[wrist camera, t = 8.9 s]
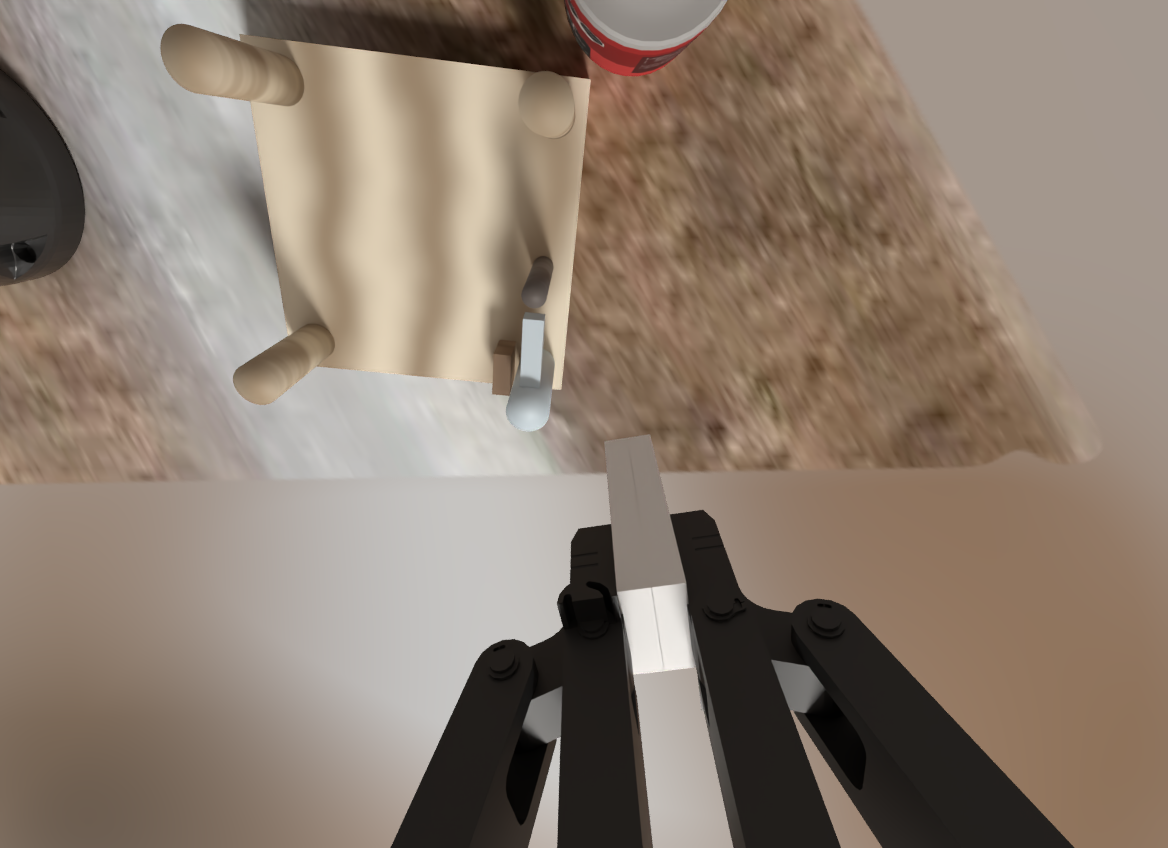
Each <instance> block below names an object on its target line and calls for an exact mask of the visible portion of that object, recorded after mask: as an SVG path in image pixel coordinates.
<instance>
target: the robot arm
mask: <svg viewBox="0 0 1168 848" xmlns="http://www.w3.org/2000/svg"><path fill="white" fill-rule="evenodd" d="M84 219H85V210H84V199H83V193H82V189H81V185H80V181H79V178H78V175H77V172H76V169H75V167H74V164H73V162H72V159H71V157H70V155H69V153H68V151H67V149H66V147H65V145H64V143H63V142H62V140H61V138H60V137H59V135H58V133H57V132H56V130H55V129H54V127H53V126H52V124H51V123H50V121H49V120H48V119H47V117H46V116H45V115H44V113H43V112H42V111H41V110H40V109H39V107H38V106H37V105H36V104H35V103H34V101H33V100H32V99H31V98H30V97H29V96H28V95H27V94H26V93H25V92H24V91H23V90H22V89H21V88H20V87H19V86H18V85H17V84H16V83H15V82H14V81H13V80H12V79H11V78H9V77H8V76H7V75H6V74H5V73H4V72H2V71H1V70H0V286H5V285H11V284H16V283H20V282H24V281H28V280H33V279H37V278H40V277H44V276H46V275H49V274H51V273H53V272H55V271H57V270H58V269H60V268H61V267H62V266H63V265H65V264H66V263H67V262H68V261H69V260H70V258H71V257H72V256H73V254H74V253H75V251H76V249H77V248H78V245H79V243H80V240H81V237H82V233H83V229H84ZM604 442H605V455H606V467H607V479H608V491H609V503H610V514H611V524H608V525H602V526H595V527H587V528H580V529H578V531H577V532H576V534H575V536H574V538H573V540H572V541H571V570H570V584H569V585H568V586H566V587H565V588H564V590H563V591H562V592H561V593H560V595H559V598H558V601H557V606H558V610H559V613H560V617H561V621H562V624H563V627H562V628H561V630H560V631H559V632H557V633H556V634H555V635H554V636H552V637H551V638H549V639H547V640H545V641H543V642H540V643H538V644H536V645H534V646H531V647H529V646H527V645H526V644H525V643H524V642H522V641H518V640H515V639H512V640H502V641H500V642H498V643H495V644H493V645H491V646H490V647H489V648H487V649H486V650H485V651H484V652H483V653H482V654H481V655H480V657H479V658H478V660H477V661H476V663H475V665H474V667H473V669H472V672H471V674H470V676H469V678H468V680H467V683H466V685H465V687H464V689H463V691H462V693H461V695H460V698H459V700H458V702H457V704H456V706H455V709H454V711H453V713H452V715H451V717H450V720H449V722H448V724H447V726H446V729H445V730H444V733H443V735H442V737H441V739H440V741H439V743H438V746H437V748H436V750H435V752H434V755H433V757H432V759H431V761H430V763H429V765H428V767H427V770H426V772H425V774H424V776H423V778H422V781H421V783H420V785H419V787H418V789H417V792H416V794H415V796H414V798H413V800H412V802H411V805H410V807H409V809H408V811H407V813H406V815H405V818H404V820H403V822H402V824H401V826H400V829H399V831H398V833H397V835H396V837H395V840H394V842H393V844H392V846H391V848H528V845H529V841H530V838H531V834H532V830H533V826H534V823H535V819H536V815H537V812H538V808H539V804H540V800H541V797H542V793H543V789H544V786H545V782H546V778H547V774H548V770H549V767H550V763H551V760H552V756H553V752H554V748H555V745H556V739H557V738H558V737H561V745H560V776H559V809H558V843H557V844H558V845H557V848H653V845H652V836H651V826H650V816H649V807H648V797H647V790H646V789H647V788H646V779H645V769H644V760H643V751H642V741H641V732H640V722H639V713H638V703H637V695H636V690H635V685H634V678H633V675H635V674H643V673H651V672H659V671H668V670H676V669H684V668H693V667H696V669H697V674H698V683H699V692H700V701H701V710H704V714H705V718H706V723H707V728H708V732H709V737H710V741H711V746H712V750H713V755H714V760H715V764H716V769H717V774H718V778H719V783H720V787H721V792H722V797H723V801H724V806H725V811H726V815H727V820H728V824H729V829H730V834H731V838H732V842H733V847H734V848H841V847H840V844H839V841H838V839H837V836H836V833H835V831H834V828H833V825H832V823H831V820H830V817H829V815H828V812H827V809H826V806H825V804H824V801H823V798H822V795H821V793H820V790H819V788H818V785H817V782H816V780H815V777H814V774H813V771H812V769H811V766H810V763H809V760H808V758H807V755H806V753H805V750H804V747H803V744H802V742H801V739H800V736H799V733H798V731H797V728H796V725H795V723H794V720H793V717H792V715H791V712H790V710H793V711H794V713H795V715H796V716H797V718H798V720H799V721H800V723H801V724H802V726H803V727H804V729H805V730H806V732H807V733H808V735H809V736H810V738H811V739H812V741H813V742H814V744H815V745H816V747H817V749H818V750H819V751H820V753H821V755H822V756H823V758H824V759H825V761H826V762H827V764H828V765H829V767H830V768H831V770H832V771H833V773H834V774H835V776H836V777H837V779H838V781H839V782H840V784H841V785H842V787H843V788H844V790H845V791H846V793H847V794H848V796H849V797H850V799H851V800H852V802H853V803H854V805H855V806H856V808H857V810H858V811H859V812H860V814H861V815H862V817H863V819H864V820H865V822H866V823H867V825H868V826H869V828H870V829H871V831H872V832H873V834H874V835H875V837H876V838H877V840H878V842H879V843H880V845H881V846H882V848H1074V847H1073V846H1072V845H1071V844H1070V843H1069V841H1067V839H1066V838H1065V837H1064V836H1063V835H1062V834H1061V833H1060V832H1059V831H1058V830H1057V829H1056V828H1055V827H1054V825H1053V824H1052V823H1051V822H1050V821H1049V820H1048V819H1047V818H1046V817H1045V816H1044V815H1043V814H1042V813H1041V812H1040V811H1039V810H1038V809H1037V807H1036V806H1035V805H1034V804H1033V803H1032V802H1031V801H1030V800H1029V799H1028V798H1027V797H1026V796H1025V795H1024V794H1023V793H1022V792H1021V791H1020V789H1018V787H1017V786H1016V785H1015V784H1014V783H1013V782H1012V781H1011V780H1010V779H1009V778H1008V777H1007V776H1006V774H1005V773H1004V772H1003V771H1002V770H1001V769H1000V768H999V767H998V766H997V765H996V764H995V763H994V762H993V761H992V760H991V759H990V758H989V756H988V755H987V754H986V753H985V752H984V751H983V750H982V749H981V748H980V747H979V746H978V745H977V744H976V743H975V742H974V741H973V739H972V738H971V737H970V736H969V735H968V734H967V733H966V732H965V731H964V730H963V729H962V728H961V727H960V726H959V725H958V724H957V722H956V721H955V720H954V719H953V718H952V717H951V716H950V715H949V714H948V713H947V712H946V711H945V710H944V709H943V708H942V707H941V706H940V704H939V703H938V702H937V701H936V700H935V699H934V698H933V697H932V696H931V695H930V694H929V693H928V692H927V691H926V690H925V688H924V687H923V686H922V685H921V684H920V683H919V682H918V681H917V680H916V679H915V678H914V677H913V676H912V675H911V674H910V673H909V671H908V670H907V669H906V668H905V667H904V666H903V665H902V664H901V663H900V662H899V661H898V660H897V659H896V658H895V657H894V656H893V655H892V653H891V652H890V651H889V650H888V649H887V648H886V647H885V646H884V645H883V644H882V643H881V642H880V641H879V640H878V639H877V638H876V636H875V635H874V634H873V633H872V632H871V631H870V630H869V629H868V628H867V627H866V626H865V625H864V624H863V623H862V622H861V621H860V619H859V618H858V617H857V616H856V615H855V614H854V613H853V612H851V611H850V610H849V609H847V608H846V607H845V606H843V605H841V604H839V603H836V602H833V601H831V600H824V599H814V600H807V601H804V602H803V603H801V604H799V605H797V606H796V608H795V610H794V611H793V613H790V612H782V611H775V610H771V609H766V608H763V607H761V606H758V605H756V604H754V603H753V602H751V601H750V600H748V599H747V598H746V597H745V596H744V595H743V593H742V592H741V590H740V588H739V586H738V583H737V581H736V578H735V575H734V572H733V570H732V567H731V564H730V561H729V559H728V556H727V553H726V550H725V548H724V545H723V542H722V539H721V537H720V534H719V531H718V528H717V525H716V523H715V520H714V519H713V518H711V517H710V516H709V515H708V514H707V513H706V512H705V511H704V510H699V511H692V512H685V513H678V514H669V510H668V506H667V502H666V498H665V494H664V490H663V485H662V482H661V477H660V473H659V469H658V465H657V461H656V457H655V453H654V449H653V444H652V440H651V436H650V434H649V435H643V436H636V437H630V438H623V439H617V440H610V441H604Z"/></svg>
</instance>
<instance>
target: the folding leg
mask: <svg viewBox="0 0 1168 848" xmlns="http://www.w3.org/2000/svg"><path fill="white" fill-rule="evenodd" d="M544 329H545V314H540V313H530V312H525V314H524V317H523V327H522V350H521V358H520V362H519V365H518V369H517V372H516V376H515V379H514V383H513V386H512V390H511V393H510V397H509V400H508V404H507V407H506V415H507V418H508V420H509V422H510V423H511V424H512V425H513V426H514V427H515V428H517V429H519V430H522V431H535V430H538V429H540V428H541V427H543V426H544V425H545V424H546V422H547V420H548V418H549V411H550V403H551V394H552V386H553V377H554V369H555V361H554V358H553V356H552V355H551V354H550V353H549V352H548V351H547V350H545V349H543V344H544Z"/></svg>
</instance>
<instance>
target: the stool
mask: <svg viewBox="0 0 1168 848" xmlns="http://www.w3.org/2000/svg"><path fill="white" fill-rule="evenodd" d="M161 56H162V60H163V62H164V65H165V67H166V69H167V71H168V72H169V74H170V75H171V77H172V78H173V79H174V80H175V81H176V82H177V83H178V84H179V85H180V86H182V87H183V88H185V89H186V90H188V91H190V92H193V93H198V94H205V95H212V96H218V97H225V98H232V99H239V100H246V101H250V103H251V109H252V115H253V121H254V128H255V134H256V140H257V146H258V152H259V159H260V165H261V171H262V177H263V183H264V190H265V196H266V202H267V208H268V215H269V221H270V227H271V233H272V239H273V246H274V252H275V258H276V264H277V271H278V277H279V283H280V289H281V295H282V302H283V308H284V314H285V320H286V326H287V333H288V336H287V337H286V338H284V339H283V340H281V341H280V342H278V343H276V344H275V345H273V346H272V347H270V348H269V349H267V350H265V351H264V352H262V353H261V354H259V355H258V356H256V357H255V358H253V359H251V360H250V361H248V362H247V363H245V364H244V365H242V366H240V367H239V368H238V369H237V370H236V371H235V373H234V376H233V382H234V386H235V388H236V390H237V391H238V393H239V394H240V395H241V396H242V397H243V398H245V399H246V400H248V401H249V402H252V403H254V404H259V405H266V404H270V403H272V402H273V401H275V400H276V399H277V398H278V397H280V396H281V395H282V394H283V393H284V392H286V391H287V390H288V389H289V388H291V387H292V386H293V385H294V384H295V383H297V382H298V381H299V380H300V379H301V378H303V377H304V376H305V375H306V374H308V373H309V372H310V371H311V370H312V369H314V368H315V367H316V366H318V367H329V368H339V369H349V370H360V371H370V372H381V373H391V374H402V375H412V376H423V377H433V378H443V379H454V380H464V381H475V382H485V383H493V387H492V394H496V395H507V396H509V395H510V392H511V388H512V385H513V383H514V379H515V376H516V372H517V369H518V365H519V362H520V358H521V350H522V327H523V317H524V314H525V312H530V313H540V314H545V329H544V344H543V349H545V350H547V351H548V352H549V353H550V354H551V355H552V356H553V358H554V361H555V369H554V377H553V386H552V389H558V390H561V386H562V375H563V365H564V354H565V344H566V333H567V323H568V312H569V302H570V291H571V281H572V270H573V260H574V249H575V239H576V228H577V218H578V207H579V197H580V186H581V176H582V165H583V154H584V144H585V133H586V123H587V112H588V102H589V91H590V81H591V79H584V78H576V77H569V76H561V75H558V74H556V73H554V72H550V71H540V72H530V71H522V70H514V69H507V68H499V67H491V66H483V65H476V64H468V63H460V62H452V61H444V60H437V59H429V58H421V57H413V56H406V55H398V54H390V53H382V52H375V51H367V50H359V49H351V48H344V47H336V46H328V45H320V44H313V43H305V42H297V41H289V40H282V39H274V38H266V37H258V36H251V35H243V34H240V41H238V40H234V39H231V38H228V37H225V36H222V35H219V34H215V33H212V32H209V31H206V30H203V29H200V28H197V27H193V26H190V25H186V24H176V25H173V26H171V27H169V28H168V29H167V30H166V31H165V33H164V34H163V37H162V40H161Z"/></svg>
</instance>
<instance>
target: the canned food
mask: <svg viewBox="0 0 1168 848" xmlns="http://www.w3.org/2000/svg"><path fill="white" fill-rule="evenodd" d="M726 2H727V0H564V3H565V9H566V14H567V19H568V22H569V25H570V27H571V30H572V33H573V35H574V37H575V39H576V40H577V42H578V44H579V45H580V47H581V49H582V50H583V51H584V52H585V53H586V54H587V56H588V57H589V58H590V59H591V60H592V61H594V62H595V63H596V64H598V65H599V66H600V67H602V68H604V69H606V70H608V71H610V72H612V73H615V74H619V75H623V76H641V75H645V74H650V73H652V72H654V71H656V70H659V69H661V68H663V67H664V66H665V65H667V64H668V63H669V62H670V61H672V60H673V59H674V58H675V57H676V56H677V55H678V54H680V53H681V52H682V51H683V50H684V49H685V48H686V47H687V46H688V45H689V44H690V43H691V42H692V41H693V40H695V39H696V38H697V37H698V36H699V35H700V34H701V33H702V32H703V31H704V30H705V29H706V27H707V26H708V25H709V24H710V23H711V22H712V21H713V20H714V18H715V17H716V16H717V15H718V14H719V13H720V11H721V10H722V8H723V7H724V5H725V3H726Z"/></svg>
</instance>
